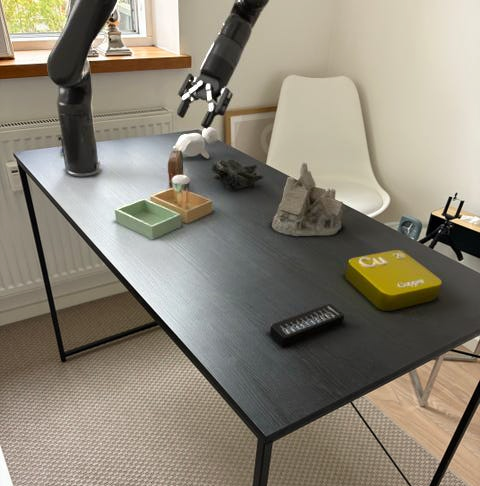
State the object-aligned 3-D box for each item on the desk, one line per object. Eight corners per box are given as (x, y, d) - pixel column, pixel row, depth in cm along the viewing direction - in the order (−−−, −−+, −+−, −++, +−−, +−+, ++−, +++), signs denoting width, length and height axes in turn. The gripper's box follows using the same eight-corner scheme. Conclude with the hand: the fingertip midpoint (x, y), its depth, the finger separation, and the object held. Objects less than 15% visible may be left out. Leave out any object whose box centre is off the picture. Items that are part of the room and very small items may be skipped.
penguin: (186, 170, 161) (226, 149, 163) (177, 146, 155) (218, 125, 157) (177, 161, 167) (215, 141, 169) (168, 138, 161) (207, 118, 163)
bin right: (150, 207, 130) (150, 196, 128) (176, 197, 136) (176, 186, 134) (186, 223, 124) (186, 211, 122) (212, 212, 130) (212, 200, 128)
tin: (178, 193, 138) (177, 164, 133) (167, 192, 138) (166, 163, 133) (184, 173, 150) (184, 146, 145) (174, 173, 150) (173, 145, 145)
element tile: (382, 313, 97) (387, 293, 95) (341, 275, 108) (345, 256, 105) (440, 299, 103) (447, 280, 100) (395, 264, 113) (400, 246, 111)
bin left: (115, 221, 122) (114, 209, 120) (144, 210, 128) (144, 198, 126) (152, 239, 116) (151, 226, 114) (181, 226, 122) (181, 214, 120)
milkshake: (194, 207, 131) (194, 170, 125) (184, 214, 127) (184, 177, 121) (179, 203, 132) (179, 167, 126) (169, 210, 128) (168, 173, 122)
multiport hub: (268, 334, 90) (270, 324, 89) (328, 312, 97) (330, 302, 95) (282, 347, 87) (284, 338, 86) (343, 324, 94) (345, 314, 92)
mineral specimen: (244, 182, 134) (236, 146, 133) (207, 196, 140) (199, 161, 139) (269, 185, 146) (261, 152, 145) (233, 197, 153) (226, 165, 152)
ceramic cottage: (262, 224, 125) (273, 168, 116) (298, 208, 136) (310, 155, 127) (313, 249, 118) (328, 191, 109) (346, 230, 129) (362, 176, 120)
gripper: (193, 44, 120) (163, 106, 123) (236, 60, 114) (204, 124, 117) (208, 61, 127) (180, 119, 130) (250, 77, 121) (219, 137, 124)
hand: (191, 121), depth 123 cm, fingers open, 8 cm apart
